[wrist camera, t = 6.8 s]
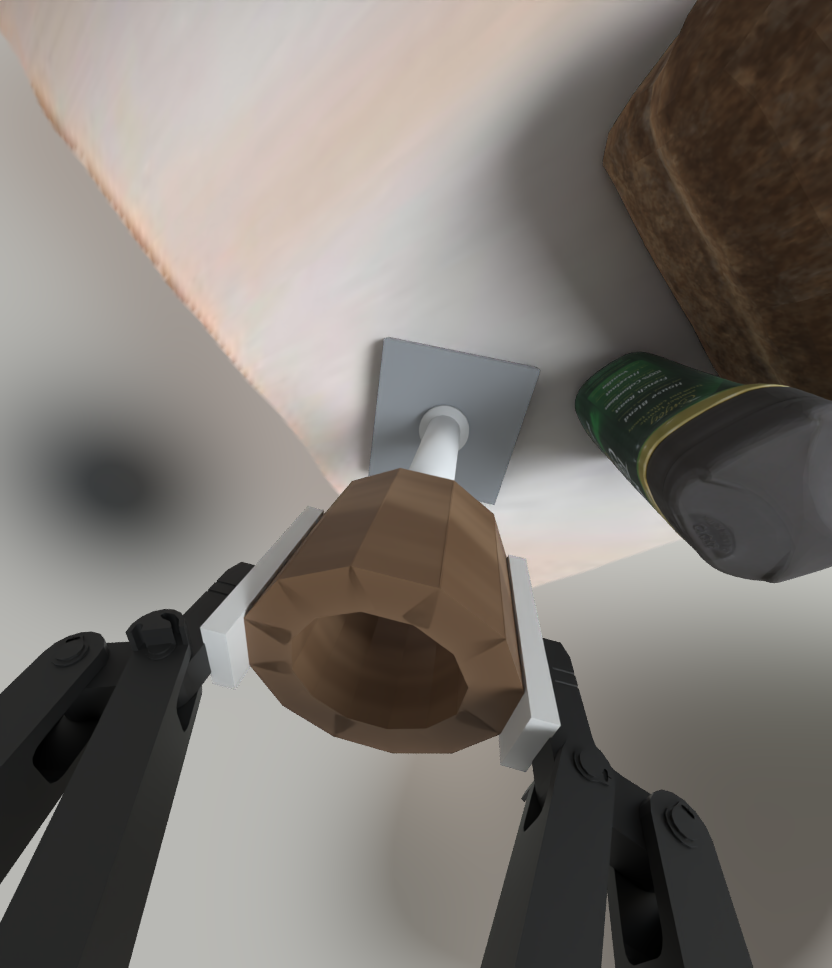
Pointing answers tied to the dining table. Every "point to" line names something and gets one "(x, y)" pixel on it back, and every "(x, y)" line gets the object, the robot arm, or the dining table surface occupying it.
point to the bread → (740, 184)
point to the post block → (449, 414)
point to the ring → (394, 619)
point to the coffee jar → (720, 461)
